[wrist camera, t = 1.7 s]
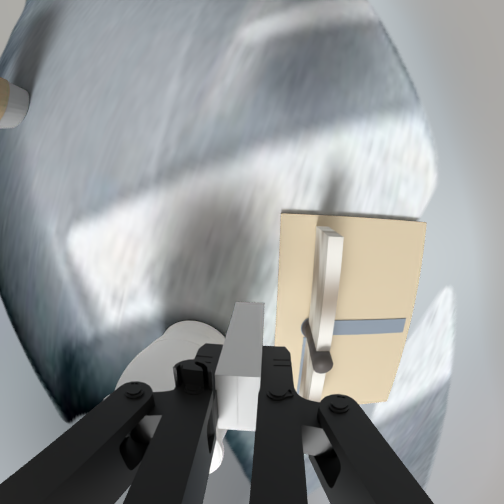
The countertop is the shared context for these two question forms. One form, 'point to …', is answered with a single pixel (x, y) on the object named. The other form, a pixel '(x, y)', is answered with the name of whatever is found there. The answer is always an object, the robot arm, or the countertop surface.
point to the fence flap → (324, 297)
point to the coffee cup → (12, 104)
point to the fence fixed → (310, 376)
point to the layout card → (352, 299)
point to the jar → (164, 359)
